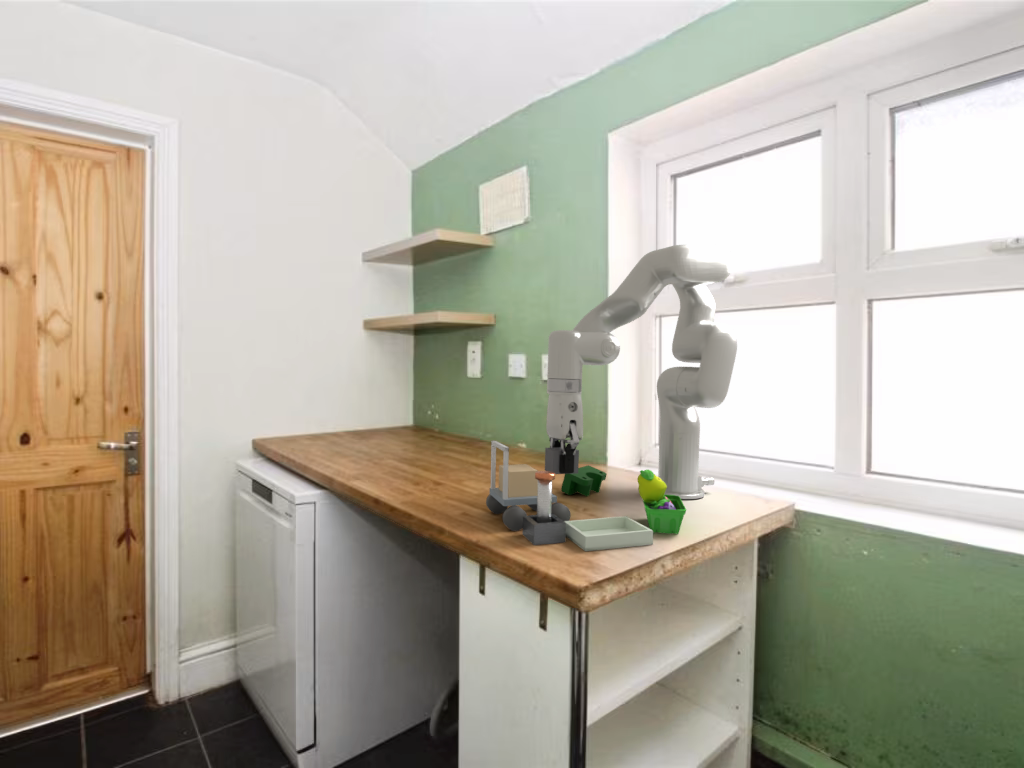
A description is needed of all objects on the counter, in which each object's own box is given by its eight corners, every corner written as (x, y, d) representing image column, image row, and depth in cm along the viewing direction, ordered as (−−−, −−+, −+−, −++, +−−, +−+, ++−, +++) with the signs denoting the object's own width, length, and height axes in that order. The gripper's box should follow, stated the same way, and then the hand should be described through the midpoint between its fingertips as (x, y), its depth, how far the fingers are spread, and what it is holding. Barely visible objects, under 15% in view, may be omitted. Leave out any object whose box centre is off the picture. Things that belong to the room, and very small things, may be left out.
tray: (625, 528, 103) (626, 516, 103) (652, 544, 94) (653, 530, 94) (563, 534, 99) (563, 521, 99) (585, 551, 90) (585, 536, 90)
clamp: (581, 514, 128) (582, 485, 123) (561, 504, 131) (561, 475, 127) (607, 488, 136) (609, 459, 131) (588, 479, 139) (588, 451, 135)
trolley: (544, 508, 117) (546, 437, 116) (570, 526, 104) (572, 447, 103) (485, 512, 112) (487, 439, 112) (505, 532, 99) (506, 449, 99)
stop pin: (549, 534, 99) (550, 470, 98) (556, 540, 95) (558, 474, 95) (530, 536, 97) (532, 471, 97) (537, 542, 94) (539, 475, 94)
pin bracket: (552, 531, 100) (552, 513, 100) (565, 542, 94) (565, 522, 94) (522, 534, 98) (522, 515, 98) (533, 545, 92) (534, 525, 92)
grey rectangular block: (569, 469, 119) (570, 447, 119) (578, 473, 115) (578, 450, 115) (544, 470, 117) (545, 447, 117) (552, 474, 113) (553, 450, 113)
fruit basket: (686, 537, 99) (688, 477, 98) (637, 533, 100) (639, 474, 100) (678, 519, 110) (680, 465, 109) (634, 516, 111) (636, 463, 111)
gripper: (597, 389, 108) (594, 478, 109) (564, 386, 125) (561, 463, 125) (564, 389, 106) (561, 479, 107) (534, 385, 122) (532, 464, 123)
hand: (561, 469), depth 116 cm, fingers closed on grey rectangular block, 4 cm apart
